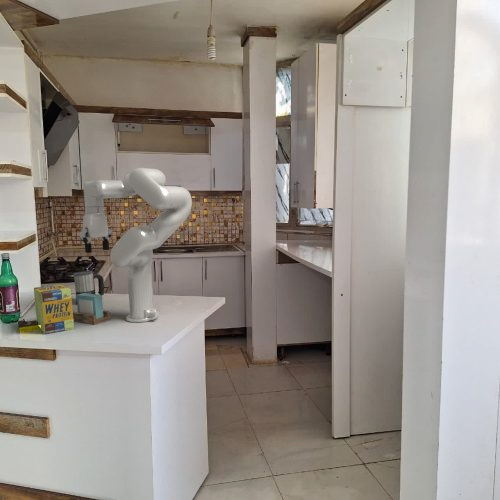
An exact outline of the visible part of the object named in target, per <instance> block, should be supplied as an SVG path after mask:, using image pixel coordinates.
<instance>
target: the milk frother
mask: <svg viewBox="0 0 500 500" xmlns="http://www.w3.org/2000/svg"><path fill="white" fill-rule="evenodd" d="M72 274H73V275H72V276H73V279H74V289H75V291H74V292H75V305H77V297H76V295H78V294H82V293H87V294H96V287H95V286H96V284H95V279H97V280H98V281H97V282H98V283H97V285H98V295H102V296H104V294H105V291H104V290H105V288H104V287H105V286H104V285H105V283H104V280H105V279H104V278H103V276H102V275H101V274H99V273H94V271H90V270H89V271H79V272H74V273H72Z"/></svg>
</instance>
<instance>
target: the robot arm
mask: <svg viewBox="0 0 500 500" xmlns="http://www.w3.org/2000/svg"><path fill="white" fill-rule="evenodd" d="M166 180H167V179H166V175H165V174H164V173H163V172H162V171H161V170H159V169H157V168H148V167H137V168H135V169H133V170H132V171H131V172H130V173H127V174H126V175H125V176H124V178H123V179H119V180H117V179H116V180H115V179H98V180H93V181H92V180H91V181H85V182H84V183H83V197H84V199H83V200H84V211H85V214H83V219H82V230H81V231H79V233H78V235H79V238H80V240H81V241H82V243H83V244H84V249H85V250H84V252H85V253H87V254H90V253H91V254H92V252H93V250H92V247H93V246H92V243H91V241H92V240H93V239H98V238H101V239H102V250H103V251H109V250H110V240H111V237H112V234H113V230H112V229H111V228H109V227H108V226H109V225H108V221H107V220H108V219H107V216H106V214H105V211H106V208H105V205H104V204H105V203H104V199H107V200H108V199H123V198H129V197H133V196H136V195H138V196H139V197H141V199H143V200H144V201H145V202H146V203H147V205H149V206H150V207H152V208H153V209H155V210H162V211H163V212H161V213H160V214H157V216H156V217H155V219H154V220H153V221H152V222H150V223H149V224H144V225H136V226H133V227H131V228H129V229H128V230H127V231H126V232H125V233H124V234H123V235H122V236H121V237H120V238H119V240H117V241H116V243H115V244H114V245H113V247H112V248H111V250H110V253H109V255H110V257H109V258H110V262H111V263H112V264H113V266H115V267H116V268H120V269H125V268H128V271H127V289H128V292H127V293H128V304H129V314H128V315H127V316H126V318H125V319H126V321H127V322H131V323H145V322H149V321H150V322H151V321H153V320H156V319H158V317H159V315H161V312H160V310H157V309H156V306H154V305H155V304H154V292H153V275H152V274H153V273H152V266H153V265H152V264H153V257H154V252H153V250H155V249H158V248H160V247H161V246H162V245H163V244H164V243H165V242H166V241H167V240H168V238H170V237H171V236H172V235H173V233H175V231H176V230H177V229H178V228H180V226H182V224H184V222H186V220H187V219H188V217H189V215H190V214H191V211H192V206H193V200H192V195H191V193H190V191H189V190H188V189H186V188H185V187H182V186H177V185H166Z"/></svg>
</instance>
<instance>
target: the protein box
mask: <svg viewBox="0 0 500 500" xmlns="http://www.w3.org/2000/svg"><path fill="white" fill-rule="evenodd" d="M33 294H34V297H33V298H34V305H35V315H36V316H35V318H36V322H37V321H38V322H39V323H40V325H41V329H40V331H41V332H42V333H43V334H44V335H47V334H48V335H49V334H54V333H59V332H65V331H69V330H74V329H75V325H74V324H75V323H74V322H75V321H73V312H74V311H73V300H72V299H73V297H72V289H71V288H69V287H67V286H65V285H63V284H55V285H54V284H53V285H47V286H37V287H33Z"/></svg>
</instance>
